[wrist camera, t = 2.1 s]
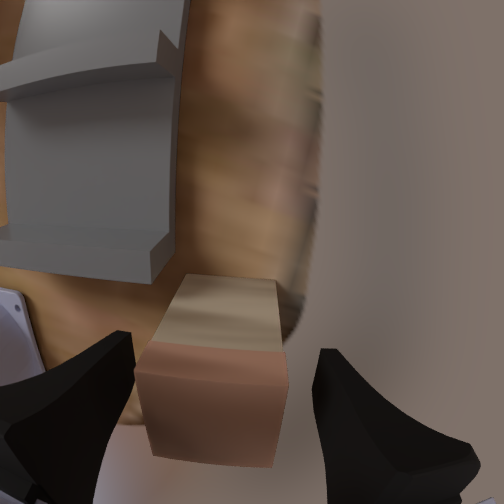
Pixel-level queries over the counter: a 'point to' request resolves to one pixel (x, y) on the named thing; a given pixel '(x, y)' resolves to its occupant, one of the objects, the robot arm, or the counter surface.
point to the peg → (216, 374)
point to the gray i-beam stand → (93, 137)
